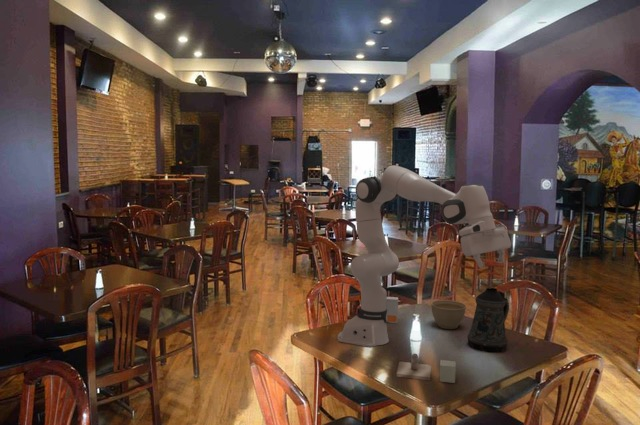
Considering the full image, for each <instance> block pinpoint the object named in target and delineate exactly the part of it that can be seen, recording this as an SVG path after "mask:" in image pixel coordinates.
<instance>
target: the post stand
mask: <svg viewBox="0 0 640 425" xmlns="http://www.w3.org/2000/svg"><path fill="white" fill-rule="evenodd" d="M410 358H411V360H410V361H411V362H407V361H406V362H405V361H399V363H398V365H397V370H396V377H398V378H406V379H414V380H424V381H431V373H432V372H431V371H432V365H431V364H426V363H425V364H424V363H419V355H418V353H415V352H414V353H412V355H411V357H410Z"/></svg>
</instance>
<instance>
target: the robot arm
mask: <svg viewBox="0 0 640 425" xmlns="http://www.w3.org/2000/svg"><path fill="white" fill-rule="evenodd" d="M355 196H356V198H357V199H356V201H355V207H354V208H355V211H354V212H355V223H356V224H355V225H356V230H357V237H358V240H359V242H360V243H362V244H363V246H365V248H366V250H367V252H368V253H367V252H366V253H363V254H360V255H357V256H355V257H354V258H352V261H351V262H350V272H351V274H352V276H353V277H354V278H355V279H357V281H358V283H359V287H360V297H361V299H360V301H361V302H360V305H358V306H356V312H355V316H354V317H352V318H351V319H348V320H347V321H346V322H345V324H344V325H343V329H342V331H340V332H339V333H338V334H337V337H336V338H337V341H338V342H339V343H344V344H345V343H346V344H350V345H355V346H357V345H358V346H362V347H367V348H373V347H375V346H382V345H386V344H388V343H389V342H390V339H389V336H388V328H387V323H388V322H387V309H386V304H387V297H388V293H387V290H386V289H385V288H384V287H383V286H382V284H381V277H385V276H389V275H391V274H393V273H395V272H396V271H397V270H398V269H399V265H400V261H399V258H398V256H397V254H396V253H395V252H393V250H391V248H390V246H389V244H388V242H387V239H386V237H385V233H384V228H383V221H382V215H381V208H382V205H388V204H389V203H391V202H393V201H395V200H397V199H398V198H399V197H401V198H403V199H406V200H408V201H412V202H431V203H437V204H440V205H441V209H440V213H441V214H440V215H441V217H442V220H444V222H446V223H447V224H448V225H449V224H450V225H461V224H468V225H466V226H465V227H462V228H461V229H460V230H459V231H458V235H459V236H460V245H461V250H462V254H463V255H464V256H465V257H466V258H468V257H473V260H474V261H475V262H476V263H477V266H478V268H483V267H486V264H485V261H482V259H481V254H486V253H491V252H497V254H498V258H496V259H497V263H498V264H503V263H505V262H506V261H505V254H506V251H505V250H507V249H510V248H511V246H512V241H511V239H510V236H509V234H508V232H507V230H506V227H505V226H504V225H503V224H501V223H499V224H496V222H495V221H494V216H493V213H492V212H491V209H490V207H491V206H490V205H491V204H490V200H489V197H488V193H487V192H486V189H485V187H484V186H483V185H482V184H480V183H469V184H464V185H462V186H461V187H460V189H459V191H458V192H456V193H455V192H454V191H451V190H449V189H446V188H444V187H442V186H440V185H437V184H436V183H434V182H432V181H430V180H429V179H427V178H425V177H423V176H422V175H420V174H418V173H416V172H414V171H412V170H410V169H408V168H405V167H402V166H399V165H396V164H395V165H390V166H388V167H386V168H385V169H384V171H383V173H382V175H380V176H377V175H375V176H367V177H365V178H362V179H360V180H359V181H358V182H357V183H356V185H355Z"/></svg>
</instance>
